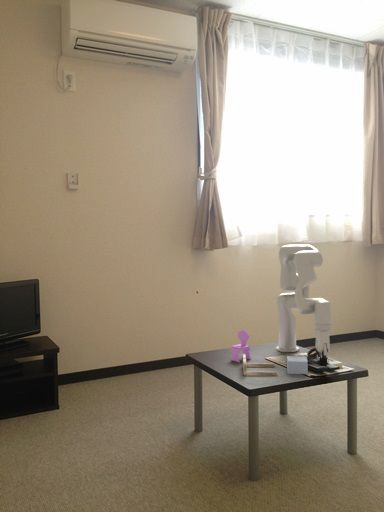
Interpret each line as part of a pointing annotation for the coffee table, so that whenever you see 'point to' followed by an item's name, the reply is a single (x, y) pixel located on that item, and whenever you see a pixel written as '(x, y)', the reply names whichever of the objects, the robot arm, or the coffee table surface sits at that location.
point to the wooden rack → (257, 366)
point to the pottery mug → (313, 356)
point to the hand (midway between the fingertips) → (323, 365)
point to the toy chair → (241, 346)
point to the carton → (297, 365)
